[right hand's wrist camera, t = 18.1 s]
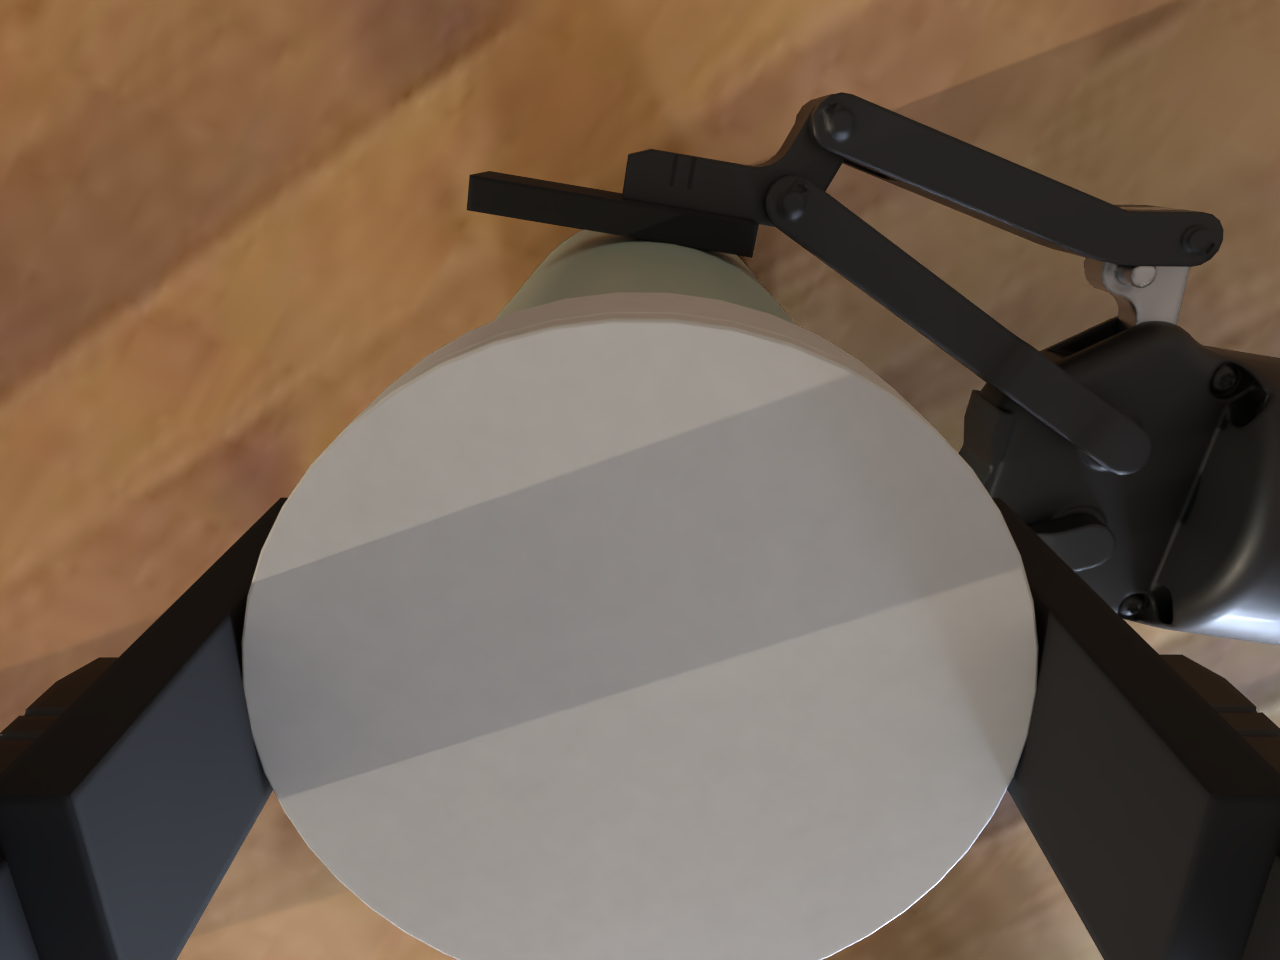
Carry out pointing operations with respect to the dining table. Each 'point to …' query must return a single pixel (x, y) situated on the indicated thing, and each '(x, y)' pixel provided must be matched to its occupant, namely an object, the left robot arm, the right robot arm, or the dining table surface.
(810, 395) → the lid
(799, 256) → the dining table surface
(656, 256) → the jar
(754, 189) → the left robot arm
